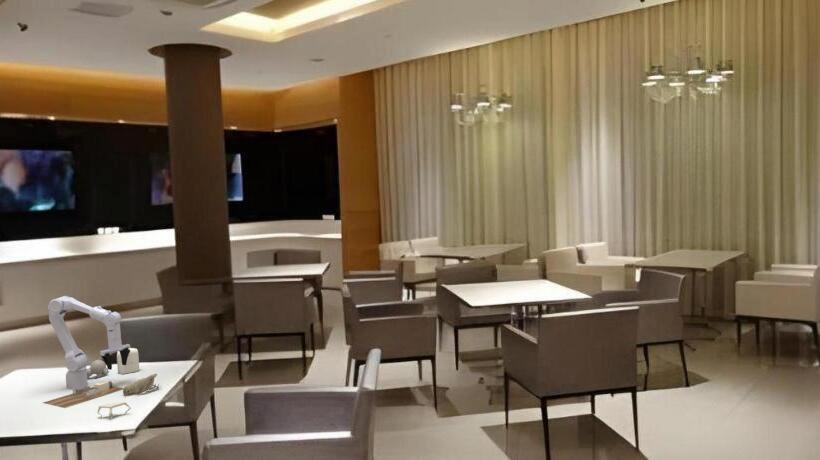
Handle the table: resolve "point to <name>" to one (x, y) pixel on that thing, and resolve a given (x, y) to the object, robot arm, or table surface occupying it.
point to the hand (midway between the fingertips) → (117, 367)
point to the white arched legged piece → (112, 405)
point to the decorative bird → (140, 385)
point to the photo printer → (128, 362)
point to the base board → (79, 398)
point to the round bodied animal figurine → (97, 369)
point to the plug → (103, 385)
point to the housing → (87, 392)
